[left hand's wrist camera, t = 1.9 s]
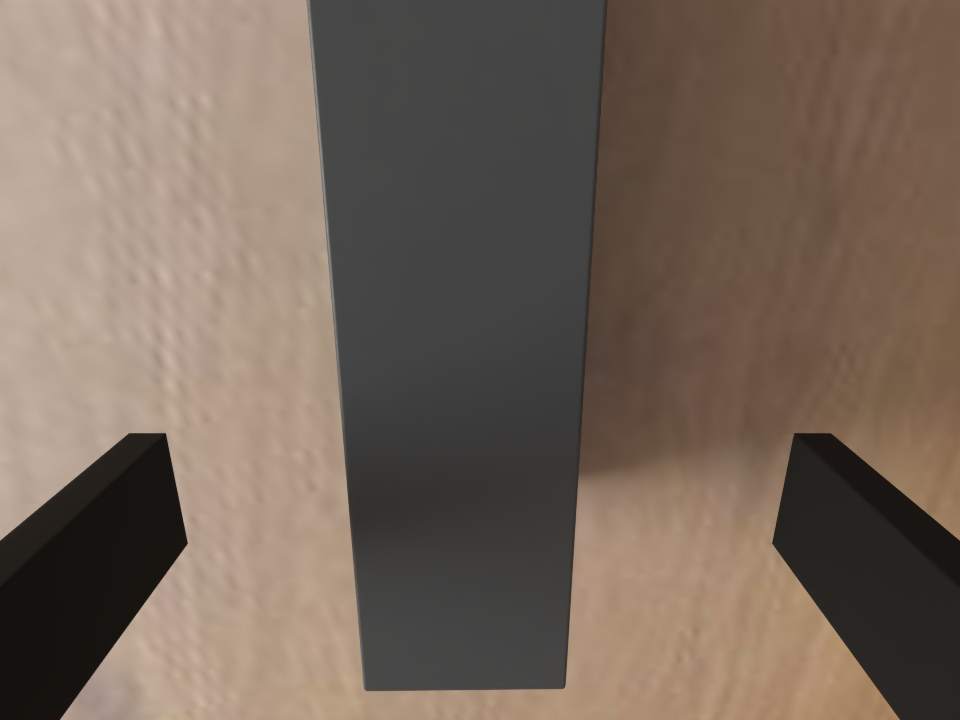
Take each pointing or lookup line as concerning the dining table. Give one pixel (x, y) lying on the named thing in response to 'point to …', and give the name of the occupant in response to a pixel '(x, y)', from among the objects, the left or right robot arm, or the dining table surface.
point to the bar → (460, 322)
